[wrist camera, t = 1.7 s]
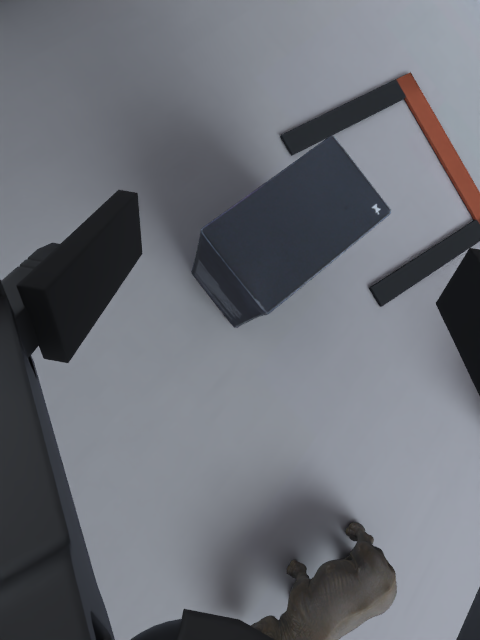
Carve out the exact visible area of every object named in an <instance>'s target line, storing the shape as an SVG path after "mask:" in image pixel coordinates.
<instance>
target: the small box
mask: <svg viewBox="0 0 480 640" xmlns="http://www.w3.org/2000/svg"><path fill="white" fill-rule="evenodd" d="M390 213H391V209H390V208H389V207H388V205H387V204H386V203H385V202H384V200H383V199H382V198H381V197H380V195H379V194H378V193H377V191H376V190H375V189H374V188H373V186H372V185H371V183H370V182H369V181H368V180H367V178H366V177H365V176H364V174H363V173H362V172H361V171H360V169H359V168H358V167H357V166H356V164H355V163H354V162H353V160H352V159H351V158H350V156H349V155H348V154H347V153H346V151H345V150H344V148H343V147H342V146H341V145H340V144H339V142H338V141H337V140H336V138H335V137H334V136H329V137H328V138H326V139H325V140H324V141H323V142H321V143H320V144H318V145H317V146H315V147H314V148H313V149H311V150H310V151H309V152H307V153H306V154H304V155H303V156H302V157H300V158H299V159H298V160H296V161H295V162H293V163H292V164H291V165H289V166H288V167H287V168H285V169H284V170H282V171H281V172H280V173H278V174H277V175H276V176H274V177H273V178H271V179H270V180H269V181H267V182H266V183H264V184H263V185H262V186H260V187H259V188H258V189H256V190H255V191H253V192H252V193H251V194H249V195H248V196H246V197H245V198H244V199H242V200H241V201H239V202H238V203H237V204H235V205H234V206H232V207H231V208H230V209H228V210H227V211H225V212H224V213H223V214H221V215H220V216H218V217H217V218H215V219H214V220H213V221H211V222H210V223H208V224H207V225H206V226H204V227H203V228H202V229H201V233H200V238H199V243H198V248H197V252H196V256H195V261H194V265H193V269H192V274H193V276H194V277H195V278H196V280H197V281H198V282H199V283H200V285H201V286H202V287H203V289H204V290H205V291H206V292H207V294H208V295H209V296H210V297H211V299H212V300H213V301H214V303H215V304H216V305H217V306H218V308H219V309H220V310H221V311H222V313H223V314H224V315H225V316H226V318H227V319H228V320H229V322H230V323H231V324H232V325H233V326H234V327H236V328H238V327H239V326H241V325H242V324H244V323H246V322H248V321H250V320H253V319H254V318H257V317H259V316H263V315H267V314H269V313H271V312H272V311H273V310H274V309H275V308H277V307H278V306H279V305H280V304H282V303H283V302H284V301H285V300H287V299H288V298H289V297H290V296H292V295H293V294H294V293H295V292H296V291H298V290H299V289H300V288H301V287H302V286H303V285H305V284H306V283H307V282H308V281H310V280H311V279H312V278H313V277H315V276H316V275H317V274H318V273H319V272H321V271H322V270H323V269H324V268H326V267H327V266H328V265H329V264H330V263H332V262H333V261H334V260H335V259H337V258H338V257H339V256H340V255H341V254H343V253H344V252H345V251H346V250H347V249H348V248H350V247H351V246H352V245H354V244H355V243H356V242H357V241H358V240H359V239H361V238H362V237H363V236H365V235H366V234H367V233H368V232H369V231H371V230H372V229H373V228H374V227H375V226H377V225H378V224H379V223H380V222H381V221H383V220H384V219H385V218H386V217H387V216H389V215H390Z"/></svg>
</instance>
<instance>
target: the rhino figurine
mask: <svg viewBox="0 0 480 640" xmlns="http://www.w3.org/2000/svg"><path fill="white" fill-rule="evenodd" d="M346 534H347V535H348V536H349V537H350V539H351V540H353V541H357V543H356V545H355V547H354V548H353V550H352V551H351V552H350V555H349V556H348V557H346V558H345V559H339V560H332V561H328V562H326V563H324V564H323V565H321V566H320V567H319V569H318V570H317V572H316V574H315V576H314V577H313V578H312V579H309V576H308V575H307V574H306V570H307V568H306V566H305V565H304V564H302V563H300V562H298V561H296V560H293V561H291V563H290V565H289V566H288V568H287V574H289V575H290V576H291V577H292V578H295V579H296V581H295V582H294V584H293V588H292V590H291V592H290V595H289V601H288V607H287V611H286V612H285V613H284V614H282V615H281V617H280V620H277V619H276V618H275V617H274V616H267V617H264V618H263V619H261V620H260V621H258V622H257V623H254V624H253V625H251V627H253V628H255V629H257V630H259V631H260V632H262V633H264V634H266V635H267V636H269V637H271V638H273V639H274V640H338V639H340V638H341V637H342V636H344V635H346V634H347V633H349V632H351V631H353V630H354V629H355V628H357V627H358V626H360V625H361V624H362V623H364V622H365V621H367V620H368V619H370V618H372V617H375V616H378V615H380V614H383V613H384V612H385V611H386V610H388V609H389V607H390V606H391V605H392V603H393V601H394V599H395V596H396V593H397V585H396V576H395V571H394V569H393V567H392V566H391V565H390V564H389V563H388V561H387V560H386V558H385V556H384V554H383V552H382V550H381V549H379V548H377V547H375V546H373V545H372V544H373V541H374V539H373V537H372V536H371V535H368V534H367V533H366V532H365V529H364V527H363V526H362V525H361V524H359V523H356V522H352V523H350V525H349V527H348V528H347V529H346Z"/></svg>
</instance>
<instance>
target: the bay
mask: <svg viewBox="0 0 480 640" xmlns="http://www.w3.org/2000/svg"><path fill="white" fill-rule="evenodd" d="M403 99H405V101H406V103H407V105H408V106H409V108H410V110H411V111H412V113H413V115H414V117H415V118H416V120H417V122H418V124H419V125H420V127H421V129H422V131H423V132H424V134H425V136H426V137H427V139H428V141H429V143H430V144H431V146H432V148H433V150H434V151H435V153H436V155H437V157H438V158H439V160H440V162H441V164H442V165H443V167H444V169H445V170H446V172H447V174H448V176H449V177H450V179H451V181H452V183H453V184H454V186H455V188H456V190H457V191H458V193H459V195H460V197H461V198H462V200H463V202H464V203H465V205H466V207H467V209H468V210H469V212H470V214H471V216H472V217H473V219H474V221H472V222H471V223H469V224H468V225H466V226H465V227H463V228H462V229H460V230H459V231H457V232H455V233H454V234H452V235H451V236H449V237H448V238H446V239H445V240H443V241H441V242H440V243H438V244H437V245H435V246H434V247H432V248H431V249H429V250H427V251H426V252H424V253H423V254H421V255H420V256H418V257H417V258H415V259H414V260H412V261H410V262H409V263H407V264H406V265H404V266H403V267H401V268H400V269H398V270H396V271H395V272H393V273H392V274H390V275H389V276H387V277H386V278H384V279H382V280H381V281H379V282H378V283H376V284H375V285H373V286H372V287H370V290H371V292H372V294H373V295H374V297H375V299H376V300H377V302H378V304H379V305H380V306H383V305H385V304H386V303H388V302H389V301H391V300H392V299H394V298H395V297H397V296H398V295H400V294H401V293H403V292H404V291H406V290H407V289H409V288H410V287H412V286H413V285H415V284H416V283H418V282H419V281H421V280H422V279H424V278H425V277H427V276H428V275H430V274H431V273H433V272H434V271H436V270H437V269H439V268H440V267H442V266H443V265H445V264H446V263H448V262H449V261H451V260H452V259H454V258H455V257H457V256H458V255H460V254H461V253H463V252H464V251H466V250H467V249H469V248H470V247H472V246H473V245H475V244H476V243H478V242H479V241H480V192H479V191H478V189H477V187H476V185H475V184H474V182H473V180H472V178H471V177H470V175H469V173H468V171H467V170H466V168H465V166H464V164H463V163H462V161H461V159H460V157H459V156H458V154H457V152H456V150H455V149H454V147H453V145H452V144H451V142H450V140H449V138H448V137H447V135H446V133H445V131H444V130H443V128H442V126H441V124H440V123H439V121H438V119H437V117H436V116H435V114H434V112H433V110H432V109H431V107H430V105H429V103H428V102H427V100H426V98H425V96H424V95H423V93H422V91H421V90H420V88H419V86H418V84H417V83H416V81H415V79H414V77H413V76H412V74H411V72H410V73H408V74H406V75H404V76H402V77H400V78H398V79H396V80H394V81H392V82H390V83H387V84H385V85H383V86H381V87H379V88H377V89H375V90H373V91H371V92H369V93H367V94H365V95H363V96H361V97H359V98H356V99H354V100H352V101H350V102H348V103H346V104H344V105H342V106H340V107H338V108H336V109H334V110H332V111H330V112H328V113H326V114H323V115H321V116H319V117H317V118H315V119H313V120H311V121H309V122H307V123H305V124H303V125H301V126H299V127H297V128H295V129H292V130H290V131H288V132H286V133H284V134H282V135H281V136H280V137H281V139H282V140H283V142H284V144H285V145H286V147H287V149H288V151H289V152H290V154H291V156H292V155H294V154H296V153H298V152H300V151H302V150H304V149H306V148H308V147H310V146H312V145H314V144H316V143H318V142H320V141H322V140H324V139H326V138H328V137H329V136H332V135H334V134H335V133H337V132H339V131H341V130H343V129H345V128H347V127H349V126H351V125H353V124H355V123H357V122H359V121H361V120H363V119H365V118H367V117H369V116H371V115H373V114H375V113H377V112H379V111H381V110H383V109H385V108H387V107H389V106H391V105H393V104H395V103H397V102H399V101H401V100H403Z"/></svg>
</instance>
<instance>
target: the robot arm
mask: <svg viewBox="0 0 480 640" xmlns="http://www.w3.org/2000/svg"><path fill="white" fill-rule="evenodd" d="M141 255H142V243H141V231H140V218H139V206H138V193H135V192H129V191H123V190H118V191H117V192H116V193H115V194H114V195H112V196H111V197H110V198H109V199H108V200H107V201H106V202H105V203H104V204H103V205H102V206H101V207H100V208H99V209H97V210H96V211H95V212H94V213H93V214H92V215H91V216H90V217H89V218H88V219H87V220H86V221H85V222H84V223H82V224H81V225H80V226H79V227H78V228H77V229H76V230H75V231H74V232H73V233H72V234H71V235H70V236H69V237H67V238H66V239H65V240H64V241H63V242H62V243H61V244H57V243H51V244H48V245H46V246H44V247H42V248H39V249H37V250H36V251H35V252H34V253H33V254H32V255H31V256H29V257H28V260H25V261H24V262H23V263H21V264H20V267H17V268H16V269H15V270H13V271H12V272H11V273H10V274H9V275H8V276H7V277H5V278H4V279H3V280H2V281H1V280H0V640H115V639H114V635H113V632H112V628H111V625H110V621H109V618H108V615H107V611H106V608H105V605H104V602H103V599H102V597H101V594H100V591H99V589H98V586H97V583H96V579H95V576H94V573H93V569H92V565H91V562H90V558H89V555H88V551H87V548H86V544H85V541H84V537H83V534H82V530H81V527H80V523H79V520H78V516H77V513H76V509H75V506H74V502H73V498H72V495H71V491H70V488H69V484H68V481H67V477H66V474H65V470H64V467H63V463H62V460H61V456H60V453H59V449H58V446H57V442H56V439H55V435H54V431H53V428H52V424H51V421H50V417H49V414H48V410H47V407H46V403H45V400H44V396H43V393H42V389H41V386H40V382H39V379H38V375H37V372H36V368H35V364H34V361H33V359H32V356H31V354H32V353H33V352H34V351H35V349H36V348H37V347H38V346H39V347H40V350H41V353H42V355H43V358H44V359H49V360H54V361H60V362H65V363H69V361H70V360H71V358H72V357H73V355H74V354H75V352H76V351H77V349H78V348H79V346H80V345H81V343H82V342H83V340H84V339H85V338H86V336H87V335H88V333H89V332H90V330H91V329H92V327H93V326H94V324H95V323H96V321H97V320H98V318H99V317H100V315H101V314H102V312H103V311H104V309H105V308H106V307H107V305H108V304H109V302H110V301H111V299H112V298H113V296H114V295H115V293H116V292H117V290H118V289H119V287H120V286H121V284H122V283H123V281H124V280H125V278H126V277H127V276H128V274H129V273H130V271H131V270H132V268H133V267H134V265H135V264H136V262H137V261H138V259H139V258H140V256H141ZM436 305H437V307H438V309H439V312H440V314H441V316H442V318H443V320H444V322H445V324H446V326H447V328H448V330H449V333H450V335H451V337H452V339H453V341H454V343H455V345H456V347H457V349H458V351H459V353H460V356H461V358H462V360H463V362H464V364H465V366H466V368H467V370H468V372H469V374H470V377H471V379H472V381H473V383H474V385H475V387H476V389H477V391H478V393H479V395H480V250H479V249H473V248H470V249H469V250H468V252H467V253H466V255H465V257H464V258H463V260H462V262H461V263H460V265H459V266H458V268H457V270H456V271H455V273H454V275H453V276H452V278H451V279H450V281H449V283H448V284H447V286H446V288H445V289H444V291H443V292H442V294H441V296H440V297H439V299H438V301H437V302H436ZM131 640H274V639H273V638H271V637H269V636H267V635H266V634H264V633H262V632H260V631H259V630H257V629H255V628H253V627H251V626H250V625H248V624H246V623H244V622H243V621H241V620H238V619H233V618H228V617H223V616H218V615H213V614H208V613H202V612H197V611H192V610H187V609H184V610H183V615H182V619H179V620H173V621H168V622H165V623H162V624H159V625H156V626H153V627H151V628H149V629H147V630H145V631H143V632H141V633H140V634H138V635H137V636H135V637H134V638H132V639H131ZM457 640H480V587H479V590H478V592H477V594H476V596H475V599H474V601H473V603H472V606H471V608H470V610H469V612H468V615H467V617H466V619H465V621H464V624H463V626H462V628H461V631H460V633H459V635H458V637H457Z"/></svg>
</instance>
